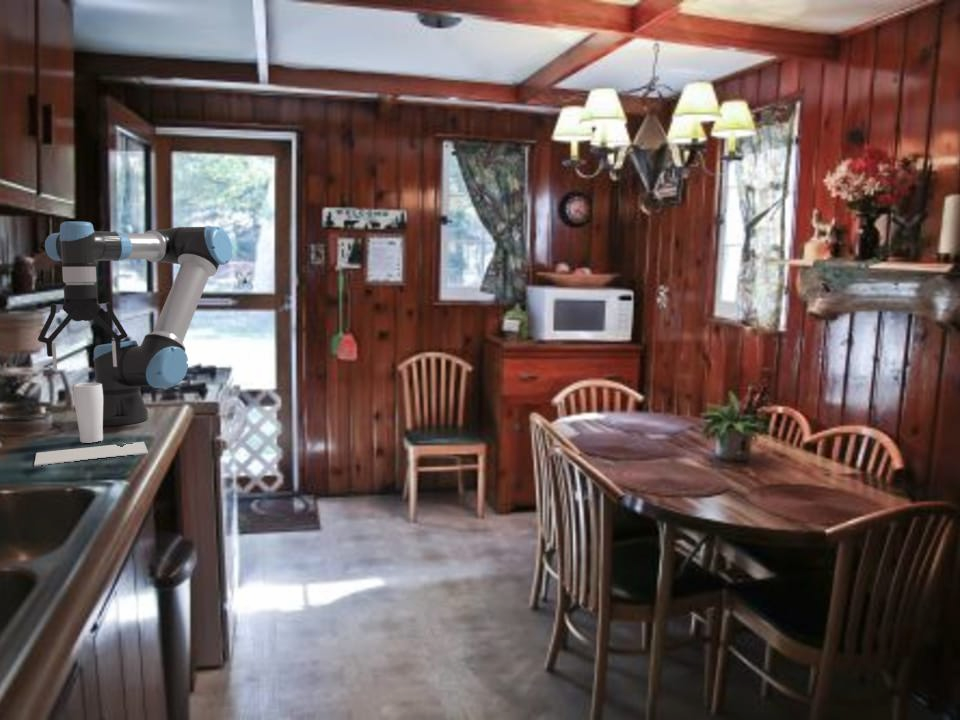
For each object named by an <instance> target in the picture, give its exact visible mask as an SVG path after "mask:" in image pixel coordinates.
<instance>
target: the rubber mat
mask: <svg viewBox="0 0 960 720" xmlns="http://www.w3.org/2000/svg"><path fill="white" fill-rule="evenodd" d="M132 443H133V444H126V443H125V444H126V445H124V446H123V447H120V446H117V445H116V444H110V445H109V444H108V445H97V446H89V447H79V448H70V449H69V448H68V449H61V450H51V451H50V450H49V451H48V450H47V451H41V452H40V451H39V452H36V453H35V459H34V462H33V463H34V464H33V466H34V467H41V465H43V466H49V465H48V464H52V465H56V464H55V463H61V464H65V463H64V462H71V463H75V462H74V461H80V460H88V459H97V458H106V457H116V456H125V457H128V456H127V455H134V456H141V455H143V456H144V455H149V451H148V447H147V446H146V444H145V441H137V442H132ZM116 458H117V457H116ZM80 462H81V461H80Z"/></svg>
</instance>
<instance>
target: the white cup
mask: <svg viewBox="0 0 960 720" xmlns="http://www.w3.org/2000/svg"><path fill="white" fill-rule="evenodd" d="M72 391H73V403H74V404H73V405H74V410H75V416H76V420H77V427H78V433H79V442H80V443H81V442H82V443H81V444H83V443H92V442H98V441H101V442H103V441H104V429H103V427H104V426H103V388H102V384H101V383H96V382H87V383H86V382H82V383H77V384H73V388H72Z"/></svg>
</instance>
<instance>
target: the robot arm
mask: <svg viewBox="0 0 960 720" xmlns="http://www.w3.org/2000/svg"><path fill="white" fill-rule="evenodd" d="M231 242H232V241H231V238H230V236H229V234H228V233H227V232H226V231H225V230H224V229H223V228H222V227H219V226H214V225H213V226H212V225H206V226H178V227H172V228H164V229H156V230H154V229H153V230H152V229H150V230H147V231H145V232H144V233H135V232H133V233H129V232H127V233H126V232H125V233H124V232H120V231H119V232H118V231H105V230H104V231H101V230H99V231H98V230H97V231H96V230H95V229H94V226H93V224H92V222H90V221H63V222H62V223H60V225H59V232H55V233H51V234H49V235H48V236H47V237H46V240H45V241H44V248H45V249H44V250H45V253H46V255H47V256H48V257H49V258H50V259H52V260H53V261H56V262H61V269H62V270H61V271H62V282H63V283H64V284H65V285H63V299H64V301H63V304H56V303H52V304H51V305H50V312H49V314H48V317H47V319H46V321H45V323H44V324H43V327H42V329H41V331H40V333H39V335H38V337H37V341H38V342H40V343H44V344H46V355H47V357H49V358H50V357H52V368H53V371H57V370H58V363H57V362H58V360H57V349H56V347H57V346H56V343H55V342H54V340H55V339H56V338H57V337H58V335H60V333H61V332H62V331H63V330H64V329H65V328H66V327H67V325H68V324H69V323H70V322H71V320H72V321H74V322H82V321H84V322H90V321H92V320H94V321H95V322H96V323H97V324H98V325H99V326H100V327H101V328H102V329H104V331H105V332H107V334H109V335H110V337H112V338H113V339H114V340H111V343H105V344H98V345H96V346H95V347H94V348H93V349H94V350H93V359H92V361H93V368H94V369H93V370H94V380H95V383H101V384H102V388H103V427H104V426H105V427H106V426H107V427H108V426H109V427H110V426H112V427H113V426H122V425H123V426H124V425H132V424H138V423H142V422H145V421H147V420H149V410H148V409H147V408H146V406H145V401H144V400H143V399H144V398H143V396H142V393H141V388H142V387H143V388H153V389H154V388H155V389H163V388H164V389H165V388H172V387H176V386H177V385H178V384H180V383H181V382H182V381H183V380H184V378H185V377H186V374H187V372H188V368H189V363H187V362H188V361H189V359H188V355H187V354H186V347H185V345H184V343H183V342H184V340H185V338H186V334H187V333H188V330H189V327H190V325H191V322H192V320H193V317H194V315H195V313H196V309H197V307H198V304H199V302H200V300H201V299H202V298H201V297H202V295H203V293H204V290H205V288H206V286H207V282H208V280H209V278H212V277H214V276H215V275H216V273H217V272H218V269H219V267H220V265H221V266H222V265H223V266H224V265H226V264H228V263H229V262H230V261H231V258H232V254H233V248H232V246H233V245H232V243H231ZM125 260H147V261H148V262H151V263H166V264H173V265H174V264H175V265H180V267H179V269H178V272H177V274H176V276H175V279H174V281H173V283H172V285H171V289H170V291H169V293H168V294H167V297H166V299H165V303H164V305H163V307H162V310H161V312H160V315H159V317H158V319H157V320H156V321H157V322H156V324H155V327H154V328H153V331H152V332H150V333H147V334H146V335H144V338H143V340H142V342H141V345H139V344H138V341H137V340H135V339H134V340H128V341H122V340H124V339H126V338H128V336H129V335H128V334H127V332H126V330H125V329H124V327H123V326H122V324H121V322H120V320H119V319H118V317H117V316H116V314H115V313H114V310H113V306H112V303H111V302H106V303H100V302H99V300H98V297H99V295H98V286H97V284H95V283H97V281H98V280H97V267H96V262H97V261H99V262H102V261H103V262H104V261H105V262H106V261H111V262H112V261H113V262H119V261H125ZM100 309H103V311H104V312H106V313H108V316H109V317H110V319H111V320H112V322H113V324H114V325H115V327H116V328H117V330H118V331H119V333H120V334H118V333H116V332H115V331H114V330H113V329H112V328H111V327H110V326H109V325H108V324H107V323H106V322H105V321H104V320H103V319H102V318H100V316H99V315H97V314H98V313H99V311H100ZM61 310H63V311H64V313H66V316H65V318H64V319H63V320H62V322H60V324H59V325H58V326H57V327H56V329H54V331H52V333H51V334H50V335H49V336H48V337H46V335H47V333H48V331H49V328H50V327H51V325H52V323H53V320H54V319H55V317H56V314H58V313H60V312H61Z"/></svg>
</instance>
